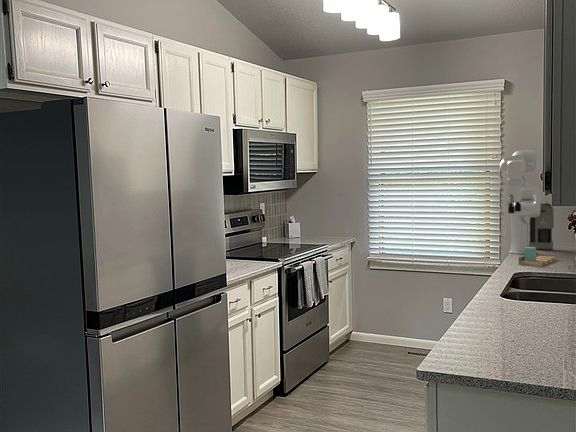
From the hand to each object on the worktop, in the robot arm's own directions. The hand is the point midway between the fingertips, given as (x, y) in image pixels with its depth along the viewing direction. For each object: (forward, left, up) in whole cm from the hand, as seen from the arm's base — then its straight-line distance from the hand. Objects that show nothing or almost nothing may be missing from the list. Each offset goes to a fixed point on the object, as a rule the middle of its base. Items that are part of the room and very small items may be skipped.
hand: (514, 212), depth 319 cm
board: (+1, +13, -28) cm, 31 cm away
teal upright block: (+8, +12, -26) cm, 29 cm away
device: (-49, -3, -28) cm, 57 cm away
